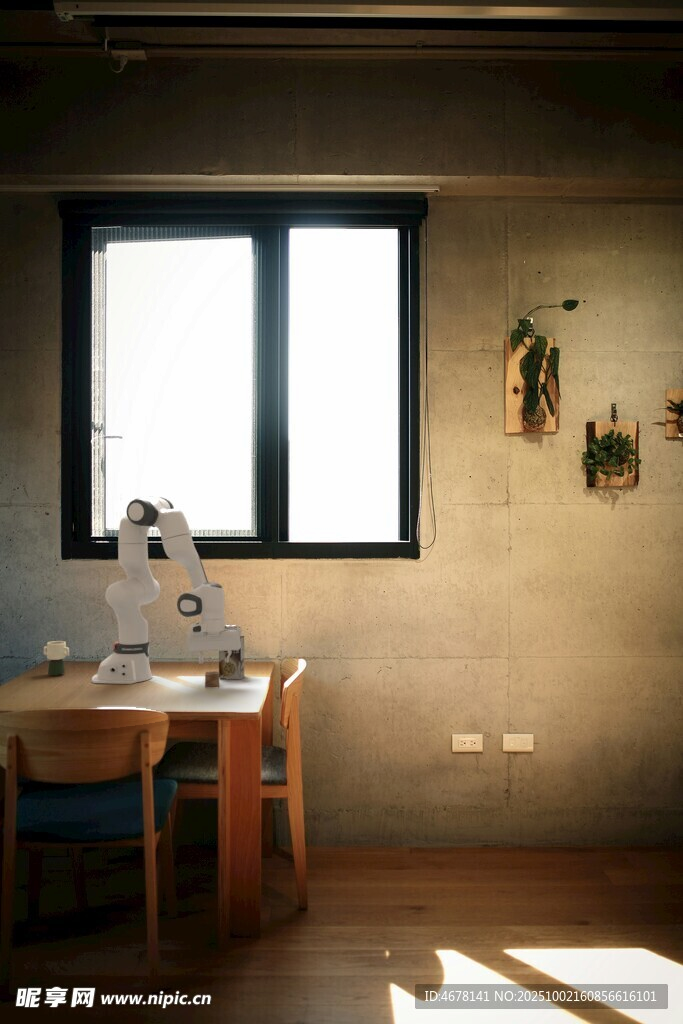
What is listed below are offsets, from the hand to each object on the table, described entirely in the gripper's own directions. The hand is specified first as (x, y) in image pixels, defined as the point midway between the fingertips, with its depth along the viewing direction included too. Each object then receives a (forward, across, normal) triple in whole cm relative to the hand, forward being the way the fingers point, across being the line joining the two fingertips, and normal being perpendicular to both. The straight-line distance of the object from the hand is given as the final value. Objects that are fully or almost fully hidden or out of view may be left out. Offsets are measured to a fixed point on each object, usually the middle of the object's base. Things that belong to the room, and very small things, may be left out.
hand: (214, 662), depth 284 cm
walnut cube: (+9, +1, 0) cm, 9 cm away
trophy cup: (+7, +63, -24) cm, 68 cm away
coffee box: (+9, -6, -14) cm, 17 cm away
